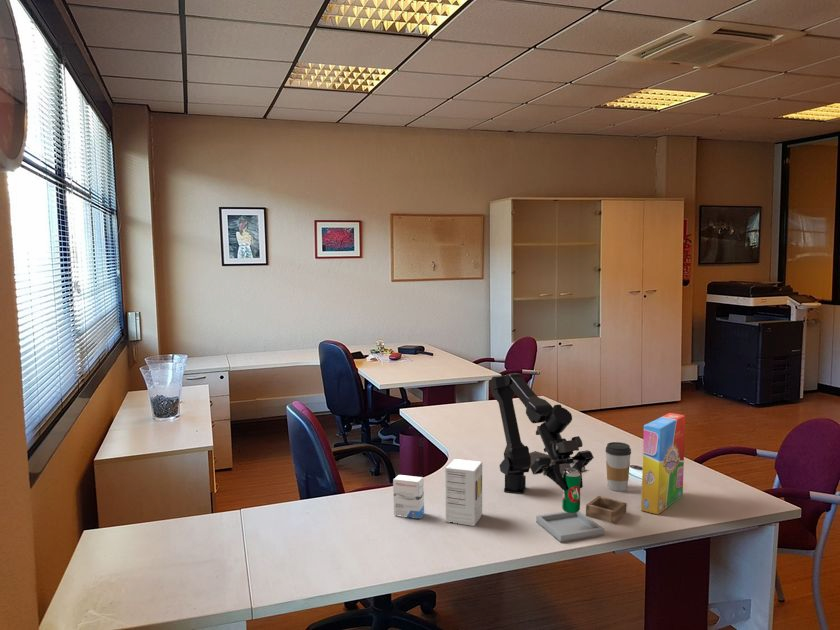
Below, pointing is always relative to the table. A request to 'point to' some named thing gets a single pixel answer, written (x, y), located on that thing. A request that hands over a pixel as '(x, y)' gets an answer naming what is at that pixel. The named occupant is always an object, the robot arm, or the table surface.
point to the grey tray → (569, 526)
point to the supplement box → (463, 491)
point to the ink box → (408, 496)
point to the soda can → (571, 490)
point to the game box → (663, 462)
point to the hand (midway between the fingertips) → (573, 489)
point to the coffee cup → (618, 465)
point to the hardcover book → (536, 455)
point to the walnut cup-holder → (606, 509)
